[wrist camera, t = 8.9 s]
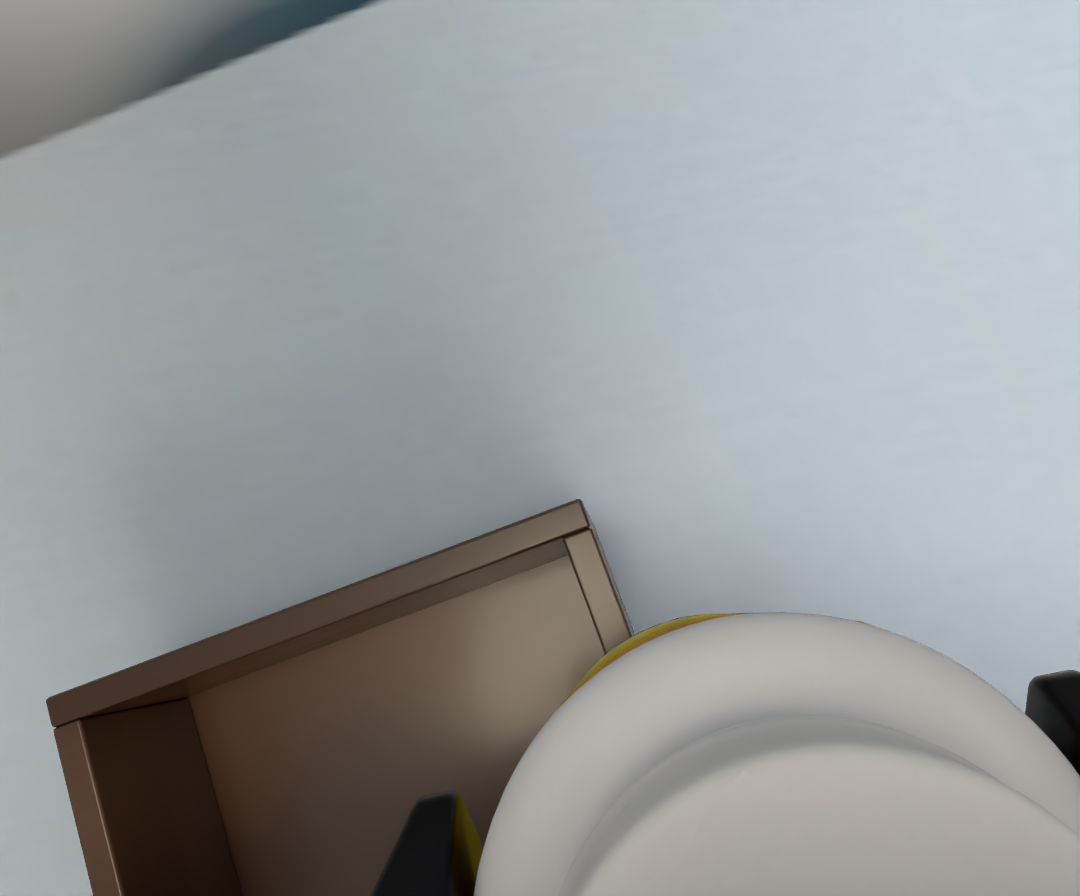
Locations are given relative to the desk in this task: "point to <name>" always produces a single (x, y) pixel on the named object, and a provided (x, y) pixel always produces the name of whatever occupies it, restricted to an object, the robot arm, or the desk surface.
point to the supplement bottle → (784, 773)
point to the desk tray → (335, 718)
